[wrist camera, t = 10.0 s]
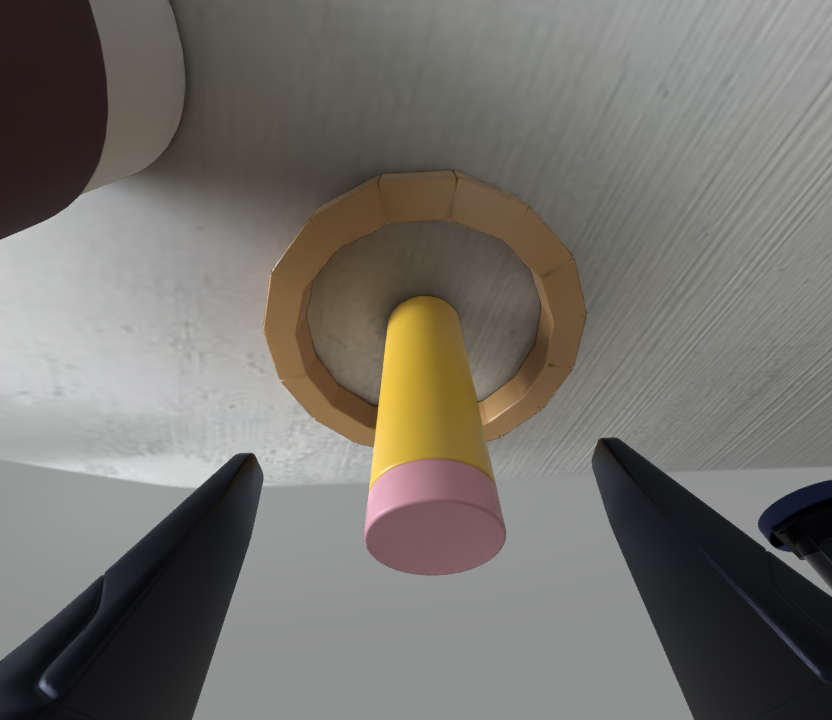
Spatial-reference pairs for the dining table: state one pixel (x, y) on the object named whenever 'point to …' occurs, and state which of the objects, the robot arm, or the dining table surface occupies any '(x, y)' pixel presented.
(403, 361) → the pencil stub
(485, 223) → the wooden ring
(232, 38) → the dining table surface
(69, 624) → the robot arm
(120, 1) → the coffee cup
